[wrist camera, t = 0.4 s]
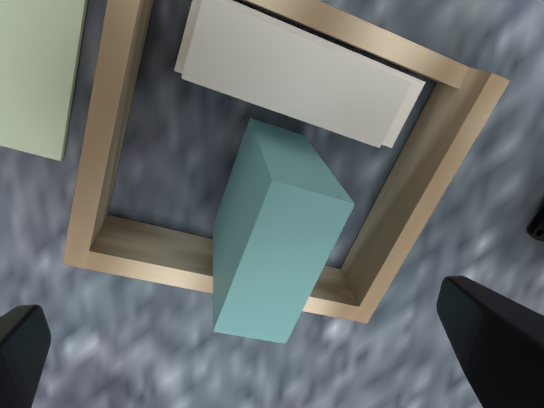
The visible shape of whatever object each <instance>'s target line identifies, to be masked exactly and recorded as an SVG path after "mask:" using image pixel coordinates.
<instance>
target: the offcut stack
mask: <svg viewBox="0 0 544 408" xmlns="http://www.w3.org/2000/svg"><path fill="white" fill-rule="evenodd" d="M174 71H176V72H179V73H181V74H182V77H181V79H184V80H187V81H190V82H193V83H195V84H198V85H201V86H204V87H207V88H210V89H212V90H215V91H218V92H221V93H224V94H227V95H230V96H232V97H235V98H238V99H241V100H244V101H247V102H249V103H252V104H255V105H258V106H261V107H264V108H267V109H269V110H272V111H275V112H278V113H281V114H284V115H286V116H289V117H292V118H295V119H298V120H301V121H304V122H306V123H309V124H312V125H315V126H318V127H321V128H323V129H326V130H329V131H332V132H335V133H338V134H341V135H343V136H346V137H349V138H352V139H355V140H358V141H361V142H363V143H366V144H369V145H372V146H375V147H378V148H380V146H381V144H382V145H384V146H387V147H390V148H392V147H393V145H394V143H395V141H396V139H397V137H398V135H399V133H400V131H401V129H402V127H403V125H404V123H405V121H406V119H407V118H408V116H409V114H410V112H411V110H412V108H413V106H414V104H415V102H416V100H417V98H418V96H419V94H420V92H421V90H422V88H423V86H424V84H425V82H424V81H422V80H419V79H417V78H415V77H412V76H410V75H408V74H405V73H403V72H400V71H398V70H396V69H393V68H391V67H389V66H386V65H384V64H382V63H379V62H377V61H374V60H372V59H370V58H367V57H365V56H363V55H360V54H358V53H356V52H353V51H351V50H349V49H346V48H344V47H341V46H339V45H337V44H334V43H332V42H330V41H327V40H325V39H323V38H320V37H318V36H316V35H313V34H311V33H308V32H306V31H304V30H301V29H299V28H297V27H294V26H292V25H290V24H287V23H285V22H283V21H280V20H278V19H275V18H273V17H271V16H268V15H266V14H264V13H261V12H259V11H257V10H254V9H252V8H249V7H247V6H245V5H242V4H240V3H238V2H235V1H233V0H192V4H191V7H190V11H189V15H188V19H187V23H186V27H185V31H184V34H183V38H182V42H181V46H180V50H179V54H178V58H177V62H176V65H175V69H174Z"/></svg>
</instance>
